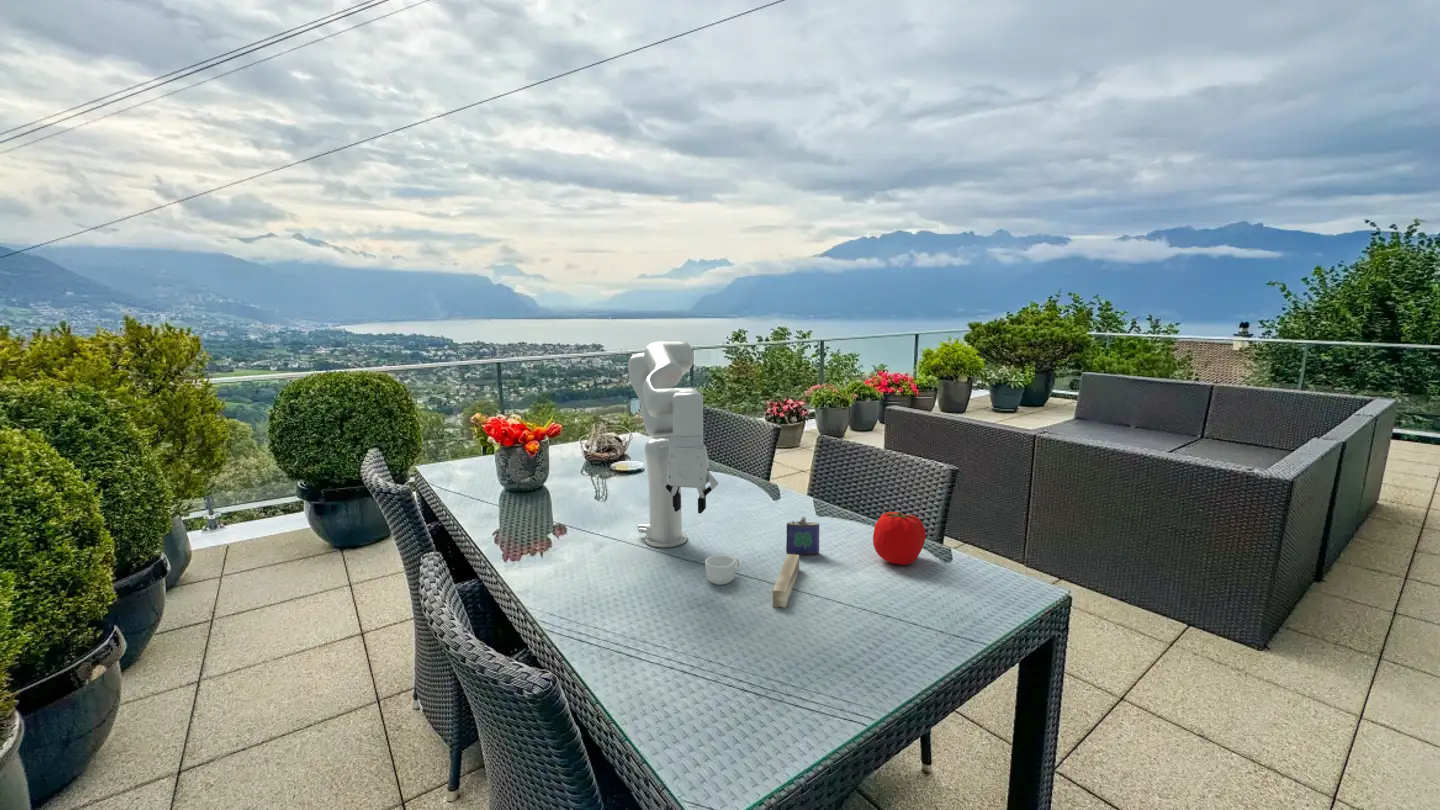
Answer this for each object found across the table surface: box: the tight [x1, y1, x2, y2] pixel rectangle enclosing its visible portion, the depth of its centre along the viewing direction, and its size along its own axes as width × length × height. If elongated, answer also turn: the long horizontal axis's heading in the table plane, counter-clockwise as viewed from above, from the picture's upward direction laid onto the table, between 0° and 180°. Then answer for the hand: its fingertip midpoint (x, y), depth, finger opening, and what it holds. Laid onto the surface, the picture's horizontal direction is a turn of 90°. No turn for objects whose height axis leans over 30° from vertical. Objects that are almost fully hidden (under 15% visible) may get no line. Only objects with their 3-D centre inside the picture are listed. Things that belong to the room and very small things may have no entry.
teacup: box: [704, 554, 741, 586], centre depth 148 cm, size 10×8×5 cm
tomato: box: [872, 511, 927, 566], centre depth 158 cm, size 16×14×14 cm
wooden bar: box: [772, 554, 800, 609], centre depth 143 cm, size 3×22×4 cm, turn 164°
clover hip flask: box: [785, 516, 820, 556], centre depth 164 cm, size 9×3×11 cm, turn 88°
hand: (689, 510), depth 148 cm, fingers open, 5 cm apart
